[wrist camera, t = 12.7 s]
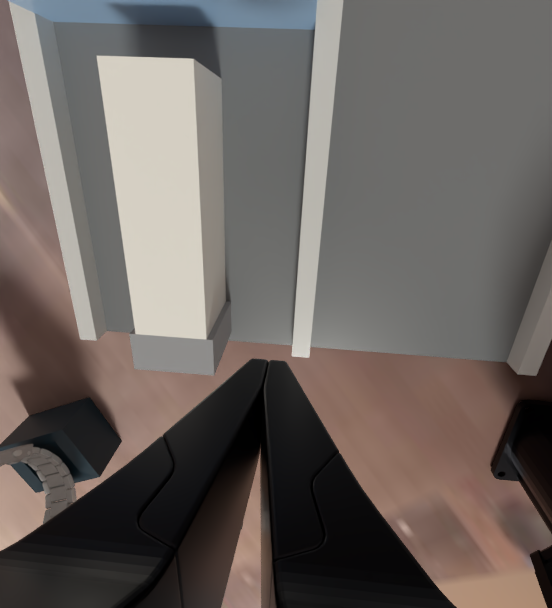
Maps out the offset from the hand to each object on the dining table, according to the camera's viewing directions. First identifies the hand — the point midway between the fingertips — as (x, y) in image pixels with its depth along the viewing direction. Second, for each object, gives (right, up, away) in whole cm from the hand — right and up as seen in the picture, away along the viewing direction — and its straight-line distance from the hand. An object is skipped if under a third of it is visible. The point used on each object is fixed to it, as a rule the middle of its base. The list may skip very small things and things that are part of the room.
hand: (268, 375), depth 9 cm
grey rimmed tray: (+2, +7, +10) cm, 12 cm away
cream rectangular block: (-4, +7, +10) cm, 13 cm away
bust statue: (-15, -8, +18) cm, 24 cm away
